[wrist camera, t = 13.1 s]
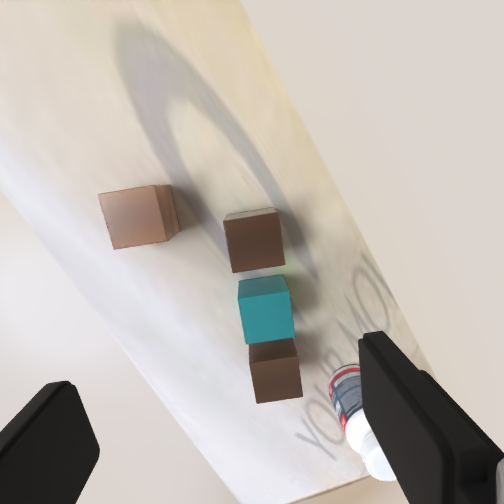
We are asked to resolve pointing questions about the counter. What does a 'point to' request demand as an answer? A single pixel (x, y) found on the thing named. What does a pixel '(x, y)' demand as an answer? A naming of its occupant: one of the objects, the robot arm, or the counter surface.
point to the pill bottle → (357, 421)
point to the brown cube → (275, 370)
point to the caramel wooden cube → (140, 215)
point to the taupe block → (254, 239)
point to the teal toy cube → (265, 309)
